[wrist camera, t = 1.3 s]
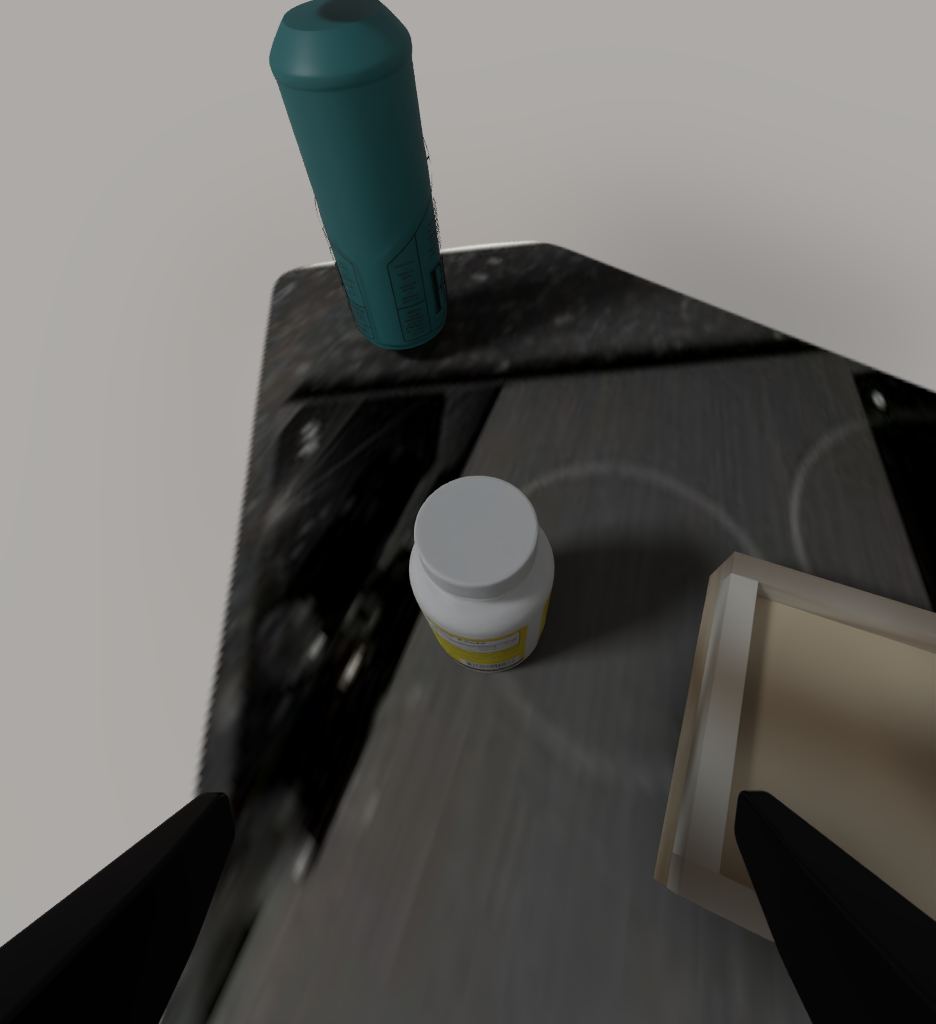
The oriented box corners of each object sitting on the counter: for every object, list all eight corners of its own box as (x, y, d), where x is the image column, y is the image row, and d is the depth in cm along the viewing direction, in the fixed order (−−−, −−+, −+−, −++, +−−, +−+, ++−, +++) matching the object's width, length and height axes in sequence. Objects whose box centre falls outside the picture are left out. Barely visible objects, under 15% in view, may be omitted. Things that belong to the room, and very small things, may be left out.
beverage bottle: (456, 362, 32) (399, -126, 15) (360, 375, 32) (190, -97, 15) (447, 301, 35) (392, -158, 18) (360, 313, 35) (220, -134, 18)
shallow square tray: (1092, 1089, 15) (1321, 1211, 11) (639, 868, 18) (678, 895, 14) (1039, 705, 20) (1178, 687, 16) (694, 591, 23) (735, 551, 19)
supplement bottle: (488, 548, 25) (480, 431, 17) (566, 618, 23) (602, 526, 14) (411, 617, 24) (358, 527, 15) (487, 700, 21) (475, 650, 13)
